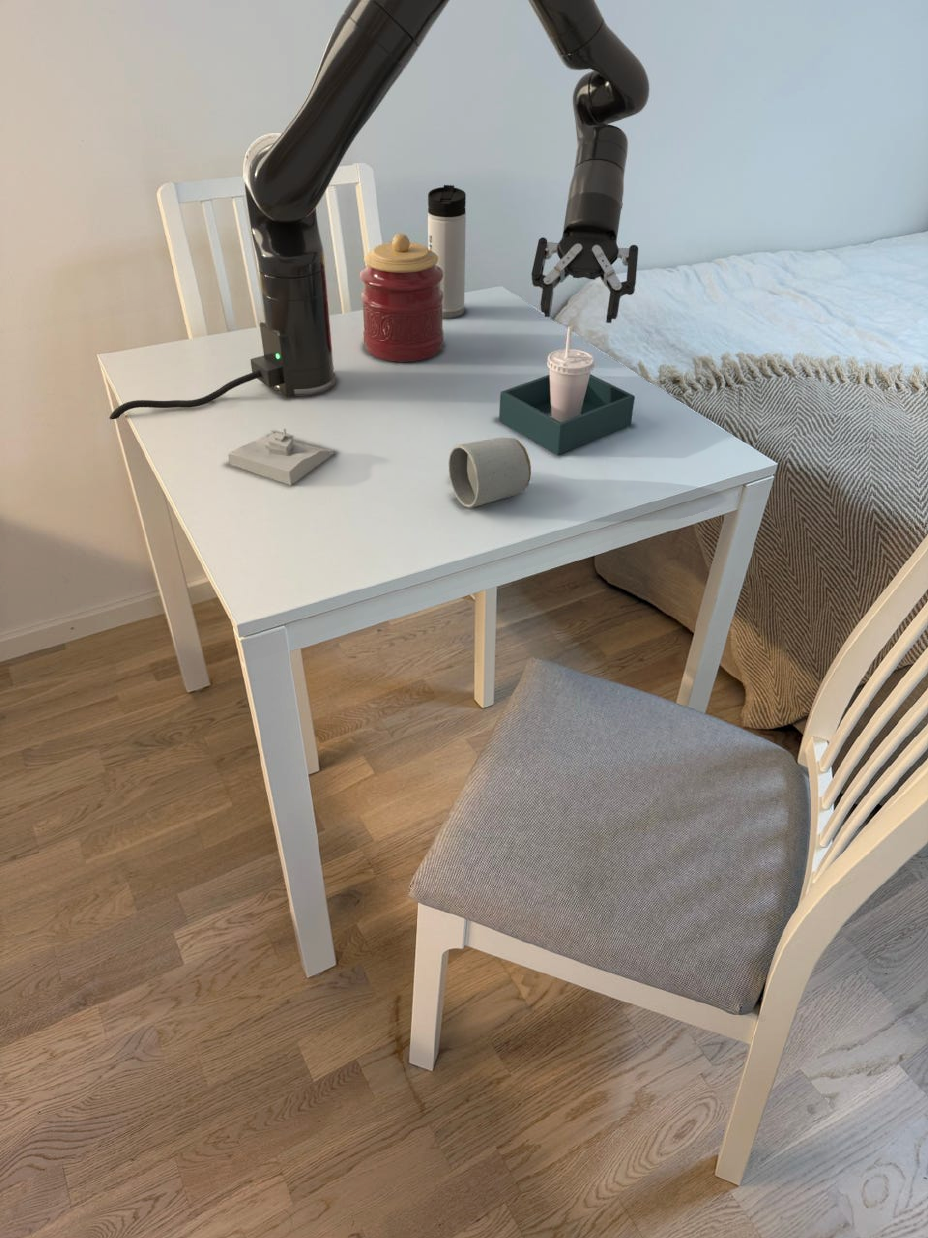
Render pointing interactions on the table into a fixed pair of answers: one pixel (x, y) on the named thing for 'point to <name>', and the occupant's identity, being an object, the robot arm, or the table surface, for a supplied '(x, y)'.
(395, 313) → the kitchen canister
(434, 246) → the travel mug
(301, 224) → the robot arm
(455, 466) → the ceramic mug
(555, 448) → the bin
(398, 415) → the table surface
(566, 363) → the smoothie
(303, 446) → the miniature house
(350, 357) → the table surface
